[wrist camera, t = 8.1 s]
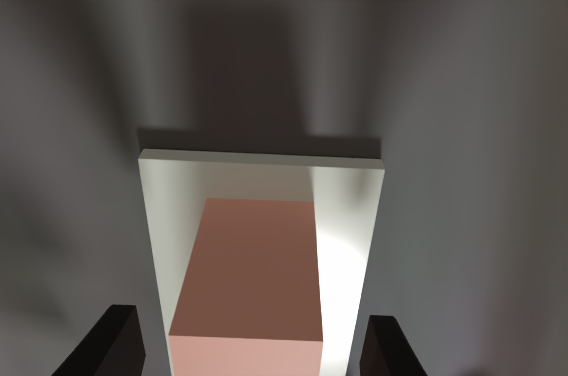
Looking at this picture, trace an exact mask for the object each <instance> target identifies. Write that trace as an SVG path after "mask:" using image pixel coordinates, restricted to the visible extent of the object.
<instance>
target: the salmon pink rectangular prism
mask: <svg viewBox="0 0 568 376" xmlns="http://www.w3.org/2000/svg"><path fill="white" fill-rule="evenodd" d="M168 338H169V345H170V351H171V358H172V364H173V371H174V376H319V373H320V366H321V358H322V351H323V344H324V338H323V323H322V309H321V294H320V280H319V265H318V251H317V236H316V222H315V207H314V202H296V201H272V200H248V199H225V198H207V200H206V203H205V207H204V210H203V214H202V217H201V221H200V224H199V228H198V231H197V235H196V239H195V242H194V246H193V249H192V253H191V256H190V260H189V263H188V267H187V270H186V274H185V277H184V281H183V285H182V288H181V292H180V295H179V299H178V302H177V306H176V309H175V313H174V316H173V320H172V323H171V327H170V331H169V334H168Z"/></svg>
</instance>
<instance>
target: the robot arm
mask: <svg viewBox="0 0 568 376" xmlns="http://www.w3.org/2000/svg"><path fill="white" fill-rule="evenodd" d="M145 356H146V354H145V349H144V344H143V339H142V334H141V329H140V324H139V319H138V314H137V309H136V305H114V304H113V305H111V306H110V307H109V308H108V309H107V310H106V312H105V313H104V314H103V315H102V317H101V318H100V319H99V320H98V322H97V323H96V324H95V325H94V327H93V328H92V329H91V330H90V331H89V333H88V334H87V335H86V336H85V338H84V339H83V340H82V341H81V342H80V343H79V345H78V346H77V347H76V348H75V349H74V351H73V352H72V353H71V354H70V355H69V356H68V357H67V358H66V360H65V361H64V362H63V363H62V364H61V365H60V366H59V368H58V369H57V370H56V371H55V372H54V373H53V374H52V375H51V376H141V374H142V369H143V365H144V360H145ZM360 376H427V374H426V372H425V371H424V369H423V367H422V366H421V364H420V362H419V361H418V359H417V357H416V355H415V354H414V352H413V350H412V348H411V346H410V345H409V343H408V341H407V339H406V337H405V335H404V333H403V332H402V330H401V328H400V326H399V324H398V322H397V320H396V319H395V318H394V317H393V316H379V315H370V317H369V322H368V327H367V331H366V336H365V341H364V345H363V350H362V354H361V359H360Z"/></svg>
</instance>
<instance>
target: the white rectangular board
mask: <svg viewBox="0 0 568 376" xmlns="http://www.w3.org/2000/svg"><path fill="white" fill-rule="evenodd" d="M138 162H139V168H140V175H141V181H142V188H143V194H144V200H145V207H146V213H147V220H148V226H149V232H150V239H151V245H152V252H153V258H154V264H155V271H156V277H157V284H158V290H159V296H160V303H161V309H162V316H163V322H164V328H165V335H166V341H167V348H168V354H169V360H170V367H171V373H172V376H174V371H173V364H172V358H171V351H170V345H169V338H168V334H169V331H170V327H171V323H172V320H173V316H174V313H175V309H176V306H177V302H178V299H179V295H180V292H181V288H182V285H183V281H184V277H185V274H186V270H187V267H188V263H189V260H190V256H191V253H192V249H193V246H194V242H195V239H196V235H197V231H198V228H199V224H200V221H201V217H202V214H203V210H204V207H205V203H206V200H207V198H225V199H248V200H272V201H296V202H314V207H315V222H316V236H317V251H318V265H319V280H320V294H321V309H322V323H323V338H324V344H323V351H322V358H321V366H320V373H319V376H345V375H346V370H347V365H348V359H349V354H350V349H351V344H352V338H353V333H354V328H355V323H356V317H357V312H358V307H359V302H360V297H361V291H362V286H363V281H364V276H365V270H366V265H367V260H368V255H369V249H370V244H371V239H372V234H373V229H374V223H375V218H376V213H377V208H378V202H379V197H380V192H381V187H382V181H383V176H384V171H385V169H384V166H383V163H382V160H381V159H364V158H342V157H319V156H297V155H274V154H252V153H229V152H207V151H184V150H162V149H143V151H142V153H141V154H140V156H139V158H138Z"/></svg>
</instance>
